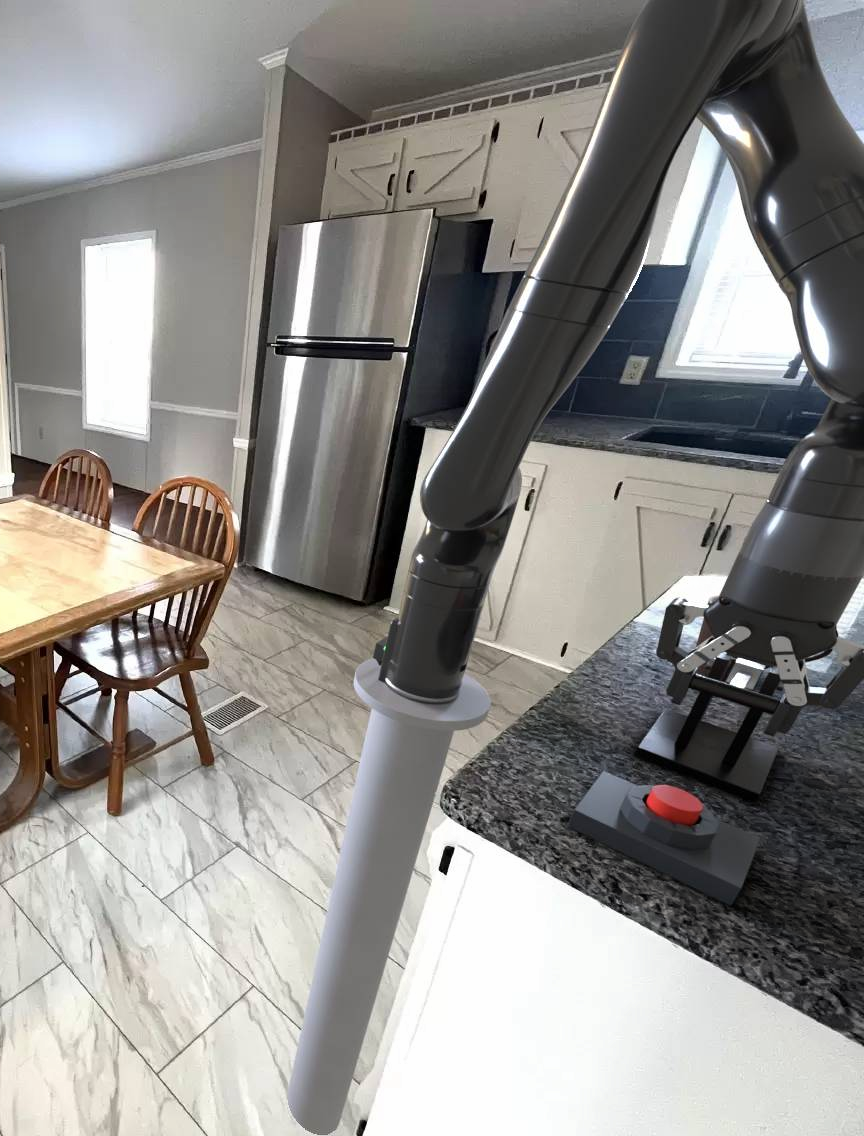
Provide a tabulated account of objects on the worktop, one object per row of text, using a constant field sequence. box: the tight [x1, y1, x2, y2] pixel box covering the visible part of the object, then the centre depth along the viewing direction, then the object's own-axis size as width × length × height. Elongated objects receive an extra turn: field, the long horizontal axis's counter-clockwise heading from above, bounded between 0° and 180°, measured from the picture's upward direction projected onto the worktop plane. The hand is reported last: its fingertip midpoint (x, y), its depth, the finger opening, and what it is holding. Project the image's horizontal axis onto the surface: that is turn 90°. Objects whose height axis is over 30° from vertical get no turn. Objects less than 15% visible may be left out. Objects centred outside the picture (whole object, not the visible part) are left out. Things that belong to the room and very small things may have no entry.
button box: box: [566, 771, 761, 907], centre depth 61 cm, size 12×9×4 cm
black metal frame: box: [633, 652, 784, 803], centre depth 70 cm, size 12×10×13 cm
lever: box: [688, 658, 781, 716], centre depth 65 cm, size 13×6×2 cm, turn 128°
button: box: [646, 784, 704, 826], centre depth 60 cm, size 4×4×2 cm
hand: (722, 715), depth 62 cm, fingers closed on lever, 6 cm apart
